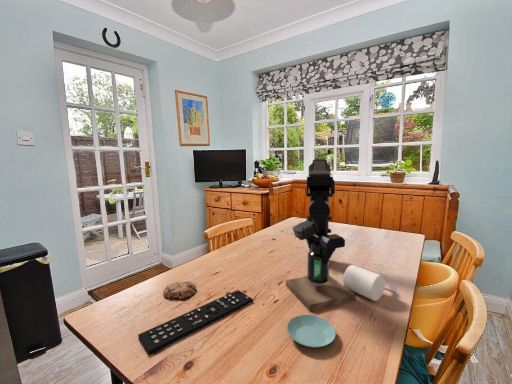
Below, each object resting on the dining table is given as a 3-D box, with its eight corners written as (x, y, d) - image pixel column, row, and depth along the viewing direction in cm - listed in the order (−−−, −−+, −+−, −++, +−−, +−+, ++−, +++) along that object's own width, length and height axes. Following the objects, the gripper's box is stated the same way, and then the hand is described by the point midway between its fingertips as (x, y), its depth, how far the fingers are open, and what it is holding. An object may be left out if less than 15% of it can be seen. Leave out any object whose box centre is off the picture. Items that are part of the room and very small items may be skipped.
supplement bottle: (320, 286, 79) (321, 249, 77) (303, 278, 84) (303, 243, 83) (333, 279, 84) (334, 244, 82) (316, 272, 89) (316, 238, 87)
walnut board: (325, 277, 94) (325, 272, 94) (355, 300, 79) (355, 294, 79) (285, 285, 89) (285, 280, 89) (309, 311, 74) (309, 305, 74)
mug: (371, 305, 77) (372, 280, 76) (342, 291, 85) (342, 268, 84) (390, 291, 84) (392, 268, 83) (362, 280, 92) (363, 259, 91)
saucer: (326, 320, 70) (326, 313, 70) (342, 353, 59) (343, 344, 58) (283, 323, 70) (283, 315, 70) (291, 356, 58) (291, 347, 58)
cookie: (162, 289, 89) (161, 281, 89) (193, 283, 93) (192, 275, 93) (164, 304, 80) (163, 295, 80) (198, 296, 84) (198, 288, 84)
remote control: (253, 303, 80) (253, 297, 80) (149, 357, 59) (148, 349, 59) (238, 293, 86) (238, 288, 86) (138, 340, 65) (137, 332, 65)
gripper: (283, 209, 87) (283, 253, 89) (312, 223, 69) (312, 277, 72) (312, 206, 90) (311, 248, 93) (346, 218, 73) (345, 270, 75)
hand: (318, 260), depth 83 cm, fingers closed on supplement bottle, 7 cm apart
